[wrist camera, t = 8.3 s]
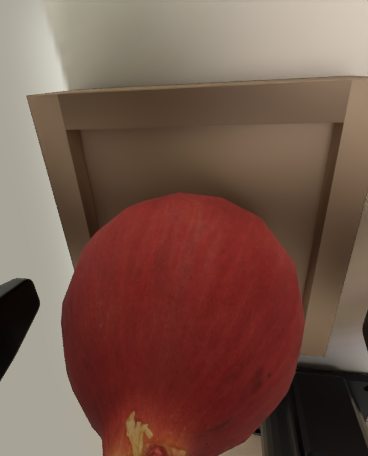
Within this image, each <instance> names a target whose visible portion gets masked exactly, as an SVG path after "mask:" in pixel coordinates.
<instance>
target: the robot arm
mask: <svg viewBox="0 0 368 456" xmlns="http://www.w3.org/2000/svg"><path fill="white" fill-rule="evenodd" d="M39 306H40V300H39V297H38V295H37V292H36V289H35V286H34V284H33V282H32V281H31V280H30V279H25V278H16V279H13V280H11V281H9V282H7V283H4V284H2V285H0V381H1V379H2V378H3V376H4V374H5V373H6V371H7V369H8V368H9V366H10V364H11V363H12V361H13V359H14V358H15V356H16V354H17V352H18V350H19V348H20V346H21V344H22V342H23V340H24V338H25V336H26V334H27V332H28V330H29V328H30V326H31V323H32V322H33V320H34V318H35V315H36V314H37V311H38V309H39ZM363 336H364V340H365V343H366V347H367V351H368V311H367V314H366V317H365V320H364V323H363ZM367 417H368V376H364V375H354V374H344V373H335V372H325V371H315V370H305V369H296V371H295V375H294V377H293V380H292V382H291V385H290V388H289V390H288V392H287V394H286V395H285V396H284V398H283V399H282V400H281V402H280V403H279V404H278V406H277V407H276V408H275V410H274V411H273V412H272V413H271V414H270V415H269V416H268V417H267V418H266V419H265V421H264V422H263V423H262V424H261V425H260V426H259V427H258V428H257V429H256V430H255V431H254V433H253V434H254V435H259V436H261V441H262V456H368V429H367V426H366V423H365V422H366V419H367Z"/></svg>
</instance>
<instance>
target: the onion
mask: <svg viewBox="0 0 368 456" xmlns="http://www.w3.org/2000/svg"><path fill="white" fill-rule="evenodd" d="M304 326H305V317H304V310H303V303H302V297H301V292H300V287H299V282H298V277H297V272H296V267H295V263H294V261H293V260H292V258H291V257H290V256H289V254H288V253H287V251H286V250H285V248H284V247H283V246H282V245H281V243H280V242H279V241H278V239H277V238H276V237H275V236H274V234H273V233H272V232H271V230H270V229H269V228H268V227H267V225H266V224H265V223H264V221H263V220H262V219H261V218H260V217H259V216H257V215H255V214H253V213H251V212H249V211H247V210H245V209H243V208H241V207H239V206H237V205H236V204H234V203H232V202H230V201H228V200H226V199H224V198H222V197H214V196H206V195H198V194H189V193H181V192H178V193H174V194H170V195H166V196H162V197H158V198H154V199H150V200H145V201H142V202H139V203H137V204H135V205H132V206H130V207H128V208H126V209H125V210H123V211H122V212H121V213H120V214H118V215H117V216H116V217H115V218H113V219H112V220H111V221H110V222H108V223H107V224H106V225H105V226H103V227H102V228H101V229H100V230H98V231H97V232H96V233H95V234H94V236H93V237H92V238H91V239H90V241H89V242H88V243H87V244H86V246H85V247H84V248H83V250H82V253H81V255H80V258H79V261H78V263H77V266H76V269H75V271H74V274H73V276H72V279H71V282H70V284H69V287H68V290H67V292H66V295H65V298H64V300H63V304H62V318H61V327H62V337H63V347H64V357H65V362H66V370H67V375H68V378H69V381H70V384H71V387H72V390H73V392H74V394H75V395H76V398H77V400H78V402H79V403H80V405H81V407H82V409H83V411H84V413H85V415H86V417H87V418H88V420H89V422H90V424H91V426H92V428H93V429H94V430H95V431H96V432H97V433H98V435H99V436H100V437H101V439H102V447H103V456H218V455H220V454H222V453H223V452H225V451H227V450H229V449H231V448H233V447H235V446H237V445H239V444H241V443H243V442H245V441H246V440H247V439H248V438H249V437H250V436H251V435H252V434H253V433H254V431H255V430H256V429H257V428H258V427H259V426H260V425H261V424H262V423H263V422H264V421H265V419H266V418H267V417H268V416H269V415H270V414H271V413H272V412H273V411H274V410H275V408H276V407H277V406H278V404H279V403H280V402H281V400H282V399H283V398H284V396H285V395H286V394H287V392H288V390H289V388H290V385H291V382H292V380H293V377H294V375H295V371H296V367H297V363H298V358H299V354H300V350H301V345H302V340H303V333H304Z"/></svg>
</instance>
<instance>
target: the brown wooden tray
mask: <svg viewBox="0 0 368 456" xmlns="http://www.w3.org/2000/svg"><path fill="white" fill-rule="evenodd" d="M27 100H28V104H29V107H30V111H31V115H32V118H33V122H34V125H35V129H36V133H37V136H38V140H39V143H40V147H41V151H42V155H43V158H44V162H45V165H46V169H47V172H48V176H49V180H50V183H51V187H52V191H53V195H54V198H55V202H56V205H57V209H58V213H59V216H60V220H61V224H62V227H63V231H64V234H65V238H66V241H67V245H68V249H69V252H70V256H71V260H72V264H73V267H74V271H75V269H76V266H77V263H78V261H79V258H80V255H81V253H82V250H83V248H84V247H85V246H86V244H87V243H88V242H89V241H90V239H91V238H92V237H93V236H94V234H95V233H96V232H97V231H98V230H100V229H101V228H102V227H103V226H105V225H106V224H107V223H108V222H110V221H111V220H112V219H113V218H115V217H116V216H117V215H118V214H120V213H121V212H122V211H123V210H125V209H126V208H128V207H130V206H132V205H135V204H137V203H139V202H142V201H145V200H150V199H154V198H158V197H162V196H166V195H170V194H174V193H178V192H181V193H189V194H198V195H206V196H214V197H222V198H224V199H226V200H228V201H230V202H232V203H234V204H236V205H237V206H239V207H241V208H243V209H245V210H247V211H249V212H251V213H253V214H255V215H257V216H259V217H260V218H261V219H262V220H263V221H264V223H265V224H266V225H267V227H268V228H269V229H270V230H271V232H272V233H273V234H274V236H275V237H276V238H277V239H278V241H279V242H280V243H281V245H282V246H283V247H284V248H285V250H286V251H287V253H288V254H289V256H290V257H291V258H292V260H293V261H294V263H295V267H296V272H297V277H298V282H299V287H300V292H301V297H302V303H303V310H304V317H305V326H304V333H303V340H302V345H301V350H300V355H310V356H321V357H325V354H326V351H327V347H328V343H329V339H330V335H331V331H332V327H333V323H334V319H335V316H336V312H337V308H338V304H339V300H340V296H341V292H342V288H343V285H344V281H345V277H346V273H347V269H348V265H349V261H350V257H351V254H352V250H353V246H354V242H355V238H356V234H357V230H358V226H359V222H360V219H361V215H362V211H363V207H364V203H365V199H366V195H367V191H368V77H366V76H338V77H318V78H298V79H279V80H259V81H239V82H219V83H199V84H179V85H159V86H139V87H120V88H100V89H80V90H70V91H62V92H53V93H45V94H37V95H28V96H27Z"/></svg>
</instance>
